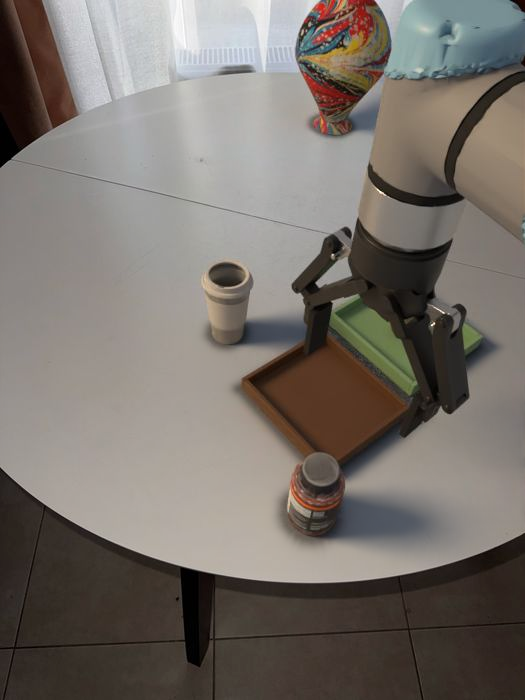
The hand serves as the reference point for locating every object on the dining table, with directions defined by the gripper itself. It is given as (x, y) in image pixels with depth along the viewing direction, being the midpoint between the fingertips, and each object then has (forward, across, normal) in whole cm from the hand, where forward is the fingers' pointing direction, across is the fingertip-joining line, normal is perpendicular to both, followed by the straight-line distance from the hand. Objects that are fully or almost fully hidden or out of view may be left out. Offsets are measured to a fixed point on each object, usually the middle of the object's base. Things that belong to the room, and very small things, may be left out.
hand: (359, 386), depth 61 cm
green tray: (+16, +9, -23) cm, 30 cm away
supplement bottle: (+17, -3, +7) cm, 18 cm away
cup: (+17, +26, -3) cm, 31 cm away
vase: (+16, +58, -59) cm, 84 cm away
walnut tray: (+16, +8, -5) cm, 19 cm away
